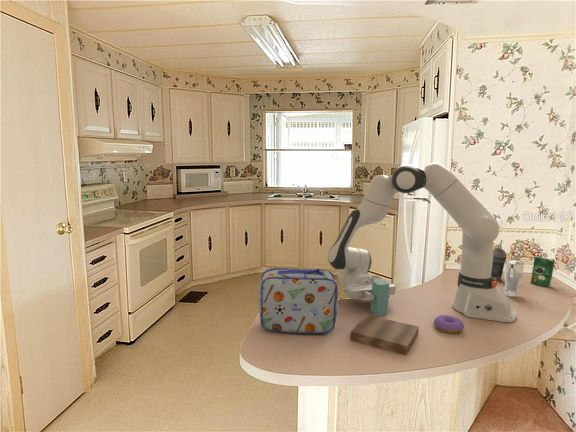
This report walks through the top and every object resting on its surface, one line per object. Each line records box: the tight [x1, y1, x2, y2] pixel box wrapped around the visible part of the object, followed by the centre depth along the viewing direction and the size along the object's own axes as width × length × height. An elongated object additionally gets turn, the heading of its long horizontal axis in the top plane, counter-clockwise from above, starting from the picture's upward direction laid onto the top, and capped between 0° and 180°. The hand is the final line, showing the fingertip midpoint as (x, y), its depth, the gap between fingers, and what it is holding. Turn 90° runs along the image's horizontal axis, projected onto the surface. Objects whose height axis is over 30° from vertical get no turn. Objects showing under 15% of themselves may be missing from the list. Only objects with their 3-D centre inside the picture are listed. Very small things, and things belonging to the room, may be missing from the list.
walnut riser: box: [350, 314, 420, 356], centre depth 133 cm, size 18×16×3 cm
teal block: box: [370, 280, 390, 317], centre depth 153 cm, size 4×4×12 cm
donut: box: [433, 314, 465, 335], centre depth 141 cm, size 10×9×5 cm
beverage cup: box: [491, 239, 507, 282], centre depth 196 cm, size 7×7×20 cm
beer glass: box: [502, 259, 524, 299], centre depth 175 cm, size 7×7×15 cm
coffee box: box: [530, 256, 556, 288], centre depth 190 cm, size 8×3×13 cm, turn 43°
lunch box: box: [258, 267, 340, 335], centre depth 136 cm, size 28×10×22 cm, turn 91°
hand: (381, 297), depth 152 cm, fingers closed on teal block, 4 cm apart
